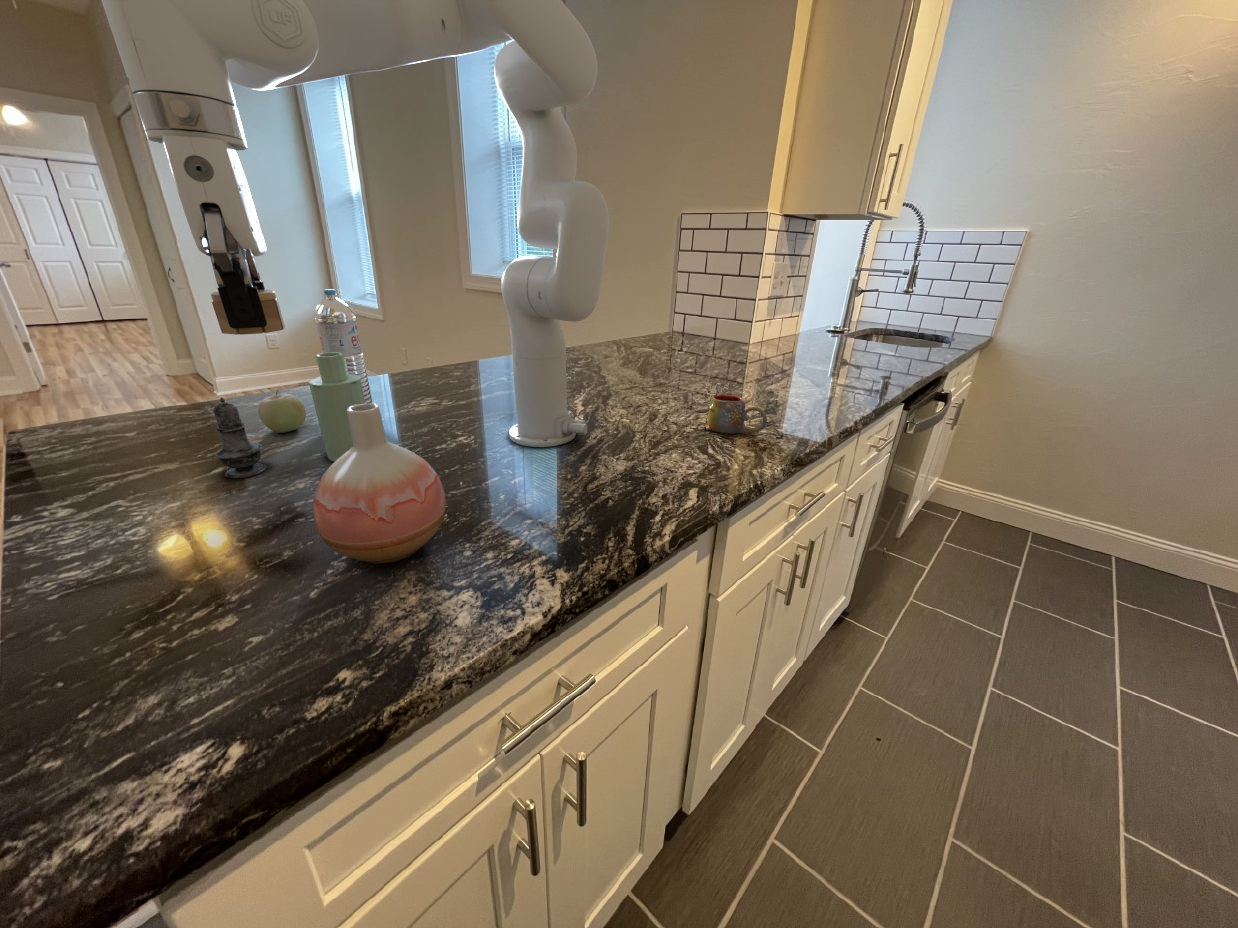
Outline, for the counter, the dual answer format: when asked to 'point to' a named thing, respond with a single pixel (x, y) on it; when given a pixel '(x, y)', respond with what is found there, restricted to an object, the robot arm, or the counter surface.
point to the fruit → (282, 412)
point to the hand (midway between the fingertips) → (252, 321)
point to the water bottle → (342, 336)
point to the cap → (269, 309)
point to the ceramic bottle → (335, 402)
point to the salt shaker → (236, 443)
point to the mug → (731, 415)
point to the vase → (377, 496)
